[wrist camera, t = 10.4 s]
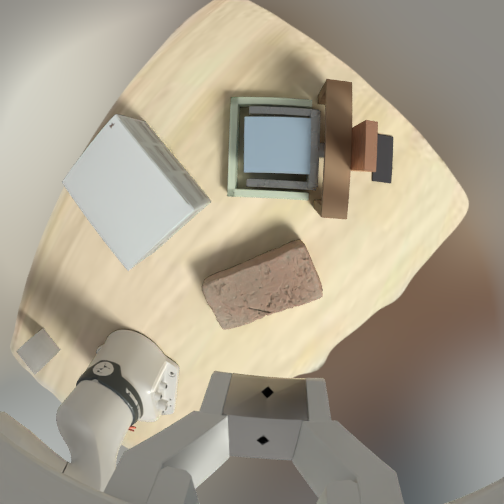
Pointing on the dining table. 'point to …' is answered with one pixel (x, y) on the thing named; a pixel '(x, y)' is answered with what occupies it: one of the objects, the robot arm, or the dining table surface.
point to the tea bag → (38, 351)
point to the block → (277, 145)
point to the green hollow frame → (234, 140)
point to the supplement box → (133, 189)
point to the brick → (263, 285)
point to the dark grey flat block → (384, 159)
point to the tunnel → (336, 149)
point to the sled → (322, 147)
